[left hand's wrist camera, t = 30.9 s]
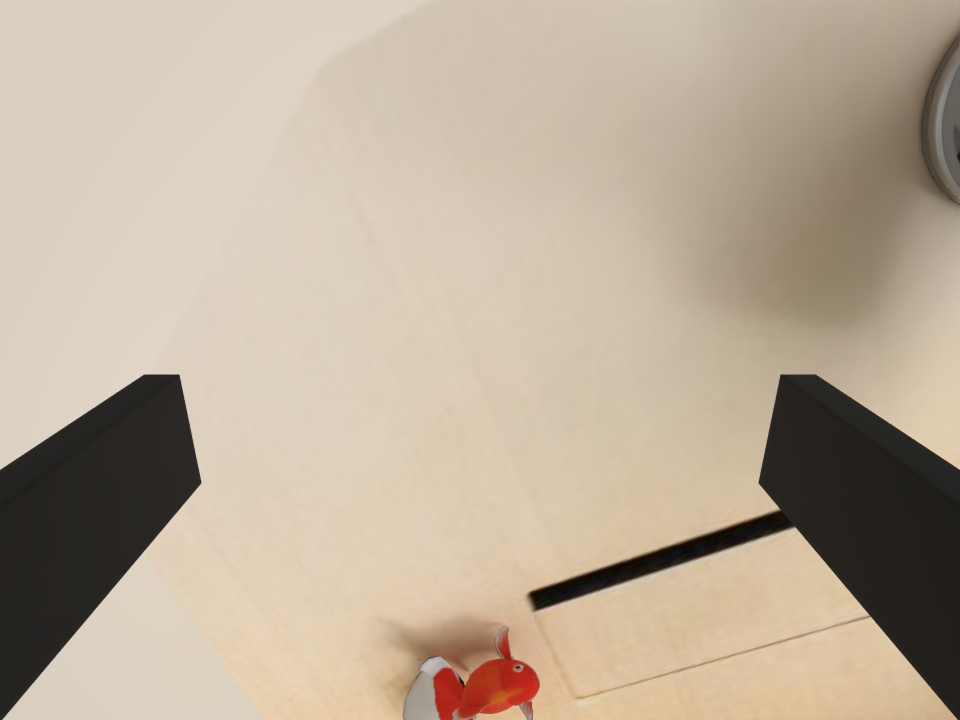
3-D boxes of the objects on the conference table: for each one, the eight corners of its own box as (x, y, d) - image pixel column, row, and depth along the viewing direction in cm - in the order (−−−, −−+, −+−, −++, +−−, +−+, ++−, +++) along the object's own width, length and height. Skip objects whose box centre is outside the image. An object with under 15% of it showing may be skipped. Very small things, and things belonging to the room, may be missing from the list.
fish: (571, 734, 54) (528, 818, 45) (438, 703, 62) (380, 770, 53) (554, 625, 53) (508, 690, 45) (423, 608, 61) (362, 660, 53)
